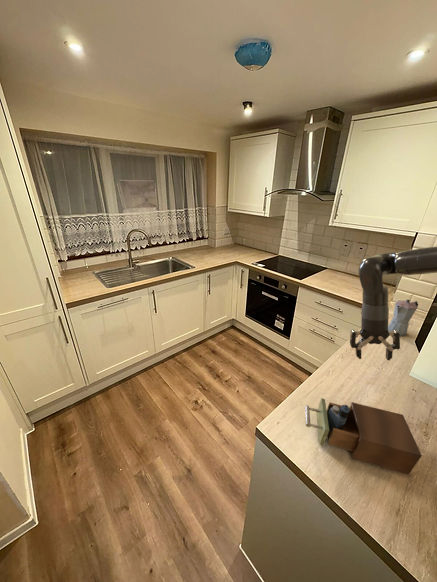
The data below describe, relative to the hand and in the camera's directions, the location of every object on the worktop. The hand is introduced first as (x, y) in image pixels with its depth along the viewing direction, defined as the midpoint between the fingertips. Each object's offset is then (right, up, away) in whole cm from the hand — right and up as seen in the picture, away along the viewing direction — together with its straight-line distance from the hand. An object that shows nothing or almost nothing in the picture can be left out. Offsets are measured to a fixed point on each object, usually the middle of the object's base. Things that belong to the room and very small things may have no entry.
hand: (373, 358), depth 82 cm
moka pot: (+45, +1, +49) cm, 67 cm away
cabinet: (-6, -25, -9) cm, 27 cm away
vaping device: (-17, -21, -6) cm, 28 cm away
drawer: (-17, -22, -6) cm, 29 cm away
